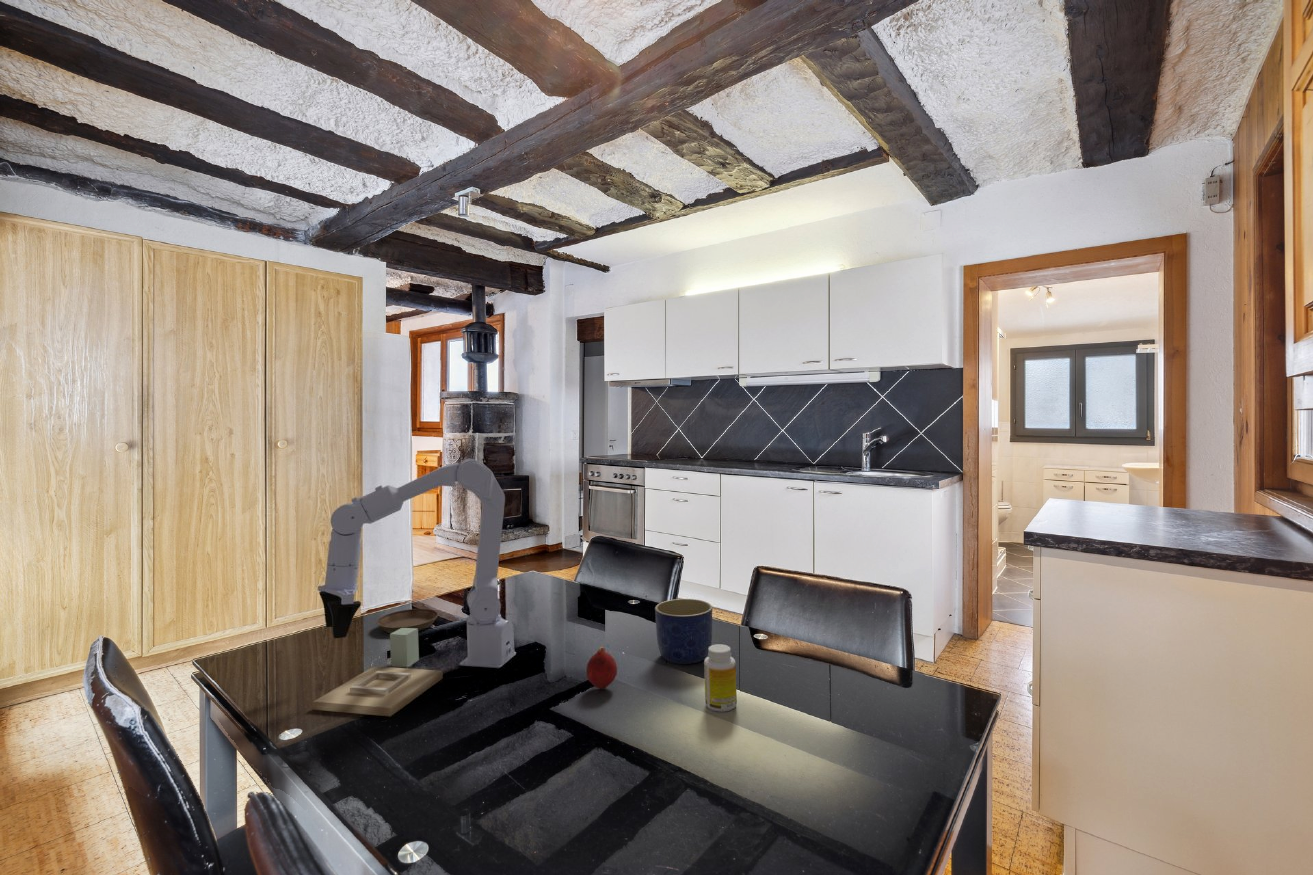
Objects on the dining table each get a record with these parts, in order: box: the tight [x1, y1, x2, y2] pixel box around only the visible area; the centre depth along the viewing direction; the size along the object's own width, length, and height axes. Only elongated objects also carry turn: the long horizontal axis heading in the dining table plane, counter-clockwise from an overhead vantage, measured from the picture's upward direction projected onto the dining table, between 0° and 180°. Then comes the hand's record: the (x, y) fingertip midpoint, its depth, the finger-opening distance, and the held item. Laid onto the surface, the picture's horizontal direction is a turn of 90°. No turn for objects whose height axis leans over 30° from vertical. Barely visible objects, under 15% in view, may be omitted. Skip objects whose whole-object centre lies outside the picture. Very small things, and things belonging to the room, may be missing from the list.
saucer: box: [376, 608, 439, 634], centre depth 151 cm, size 15×15×3 cm
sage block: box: [389, 628, 420, 668], centre depth 126 cm, size 4×4×7 cm
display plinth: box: [312, 666, 444, 717], centre depth 111 cm, size 16×16×2 cm
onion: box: [586, 646, 618, 691], centre depth 110 cm, size 6×6×8 cm
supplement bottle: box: [703, 643, 738, 713], centre depth 102 cm, size 6×6×10 cm
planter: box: [654, 598, 713, 665], centre depth 125 cm, size 12×12×11 cm
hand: (335, 631), depth 116 cm, fingers open, 7 cm apart
